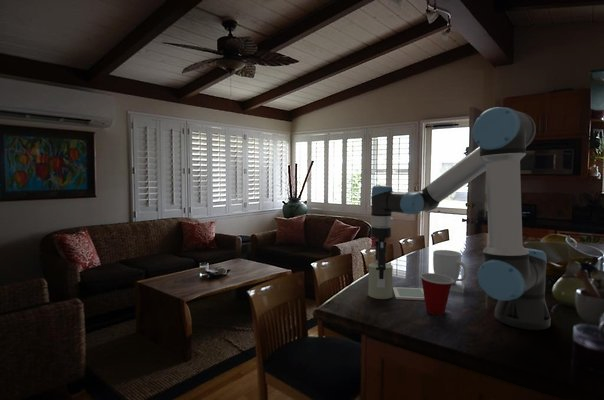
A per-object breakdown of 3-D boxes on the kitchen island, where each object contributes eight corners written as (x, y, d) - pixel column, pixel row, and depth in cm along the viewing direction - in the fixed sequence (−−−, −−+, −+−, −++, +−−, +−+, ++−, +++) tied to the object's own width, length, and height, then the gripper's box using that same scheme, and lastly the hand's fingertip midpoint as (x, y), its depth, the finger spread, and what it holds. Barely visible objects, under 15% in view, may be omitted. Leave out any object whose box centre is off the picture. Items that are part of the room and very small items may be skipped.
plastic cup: (455, 319, 117) (456, 282, 116) (419, 316, 120) (420, 279, 119) (451, 307, 128) (452, 273, 127) (419, 304, 131) (419, 271, 130)
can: (386, 290, 147) (387, 260, 146) (396, 298, 138) (397, 266, 137) (364, 291, 145) (364, 261, 144) (373, 299, 136) (373, 267, 135)
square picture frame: (429, 300, 135) (429, 298, 135) (396, 299, 137) (396, 296, 136) (423, 290, 147) (423, 288, 147) (392, 289, 148) (392, 286, 148)
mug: (474, 286, 152) (475, 254, 151) (458, 290, 146) (459, 258, 145) (443, 277, 164) (443, 248, 163) (427, 281, 158) (427, 251, 157)
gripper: (394, 232, 127) (392, 292, 128) (388, 222, 151) (386, 273, 153) (372, 231, 128) (371, 291, 129) (369, 221, 152) (368, 272, 154)
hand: (379, 281), depth 141 cm, fingers open, 13 cm apart
